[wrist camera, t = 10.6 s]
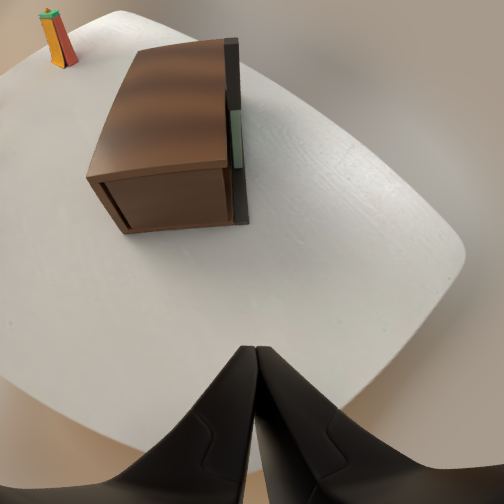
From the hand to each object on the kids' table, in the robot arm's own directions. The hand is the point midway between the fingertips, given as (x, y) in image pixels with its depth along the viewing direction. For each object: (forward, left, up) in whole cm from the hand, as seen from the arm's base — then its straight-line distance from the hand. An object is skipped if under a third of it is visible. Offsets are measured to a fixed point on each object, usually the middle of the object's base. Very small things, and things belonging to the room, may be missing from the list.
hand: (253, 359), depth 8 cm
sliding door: (+10, +21, -13) cm, 27 cm away
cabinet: (+4, +23, -14) cm, 27 cm away
